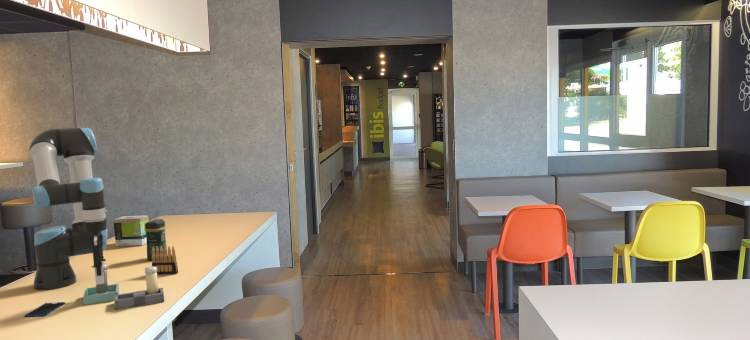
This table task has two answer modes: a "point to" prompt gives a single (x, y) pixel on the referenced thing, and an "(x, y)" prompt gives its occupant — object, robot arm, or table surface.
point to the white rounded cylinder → (151, 280)
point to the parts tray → (100, 295)
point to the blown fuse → (104, 287)
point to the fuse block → (138, 299)
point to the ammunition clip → (164, 261)
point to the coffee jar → (155, 236)
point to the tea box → (130, 230)
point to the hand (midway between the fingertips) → (100, 281)
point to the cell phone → (44, 309)
